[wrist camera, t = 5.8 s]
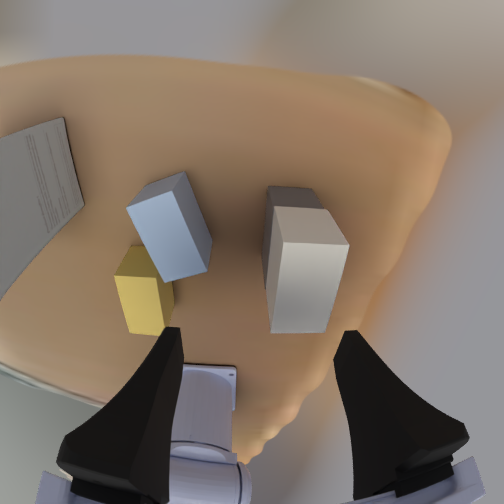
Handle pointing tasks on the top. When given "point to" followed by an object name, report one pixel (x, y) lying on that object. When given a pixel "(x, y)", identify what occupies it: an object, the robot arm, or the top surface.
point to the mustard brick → (144, 293)
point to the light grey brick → (303, 269)
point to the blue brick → (172, 227)
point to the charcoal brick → (284, 199)
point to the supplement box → (34, 194)
